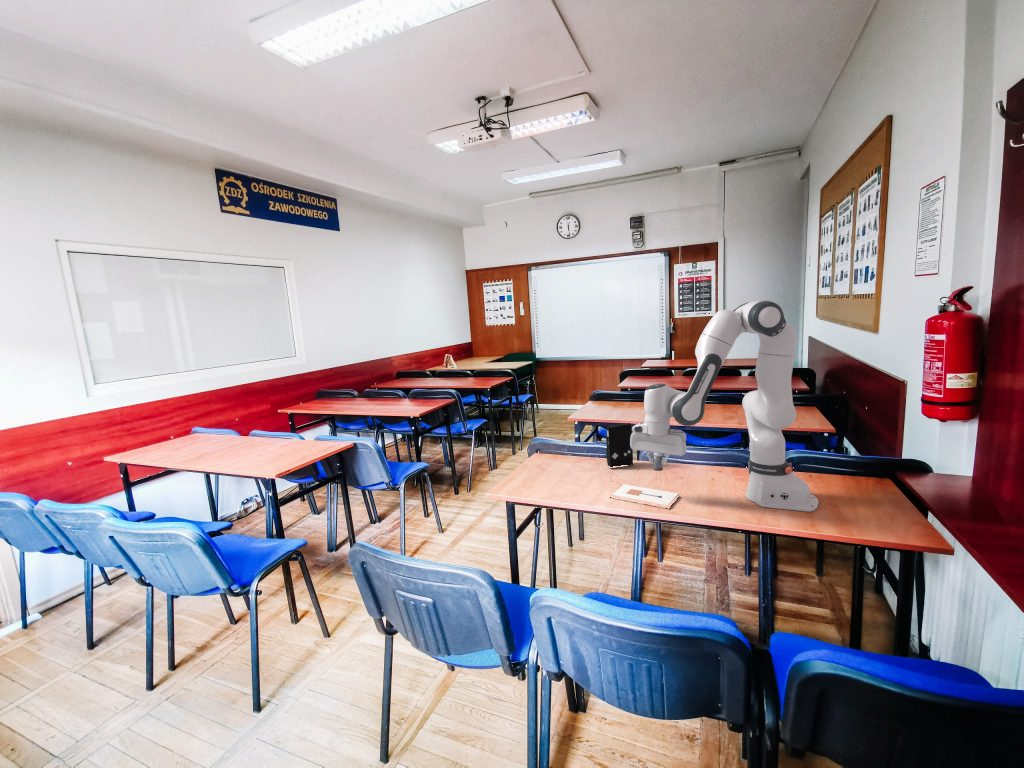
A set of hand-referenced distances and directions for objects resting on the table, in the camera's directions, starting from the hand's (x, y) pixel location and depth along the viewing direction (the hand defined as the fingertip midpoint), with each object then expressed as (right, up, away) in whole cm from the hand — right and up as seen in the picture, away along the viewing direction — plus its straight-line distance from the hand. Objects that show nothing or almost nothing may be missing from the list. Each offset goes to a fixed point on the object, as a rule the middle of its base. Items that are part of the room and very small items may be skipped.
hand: (658, 463), depth 166 cm
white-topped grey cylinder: (0, -2, 0) cm, 2 cm away
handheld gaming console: (-4, -9, +42) cm, 44 cm away
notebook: (-3, -14, +6) cm, 16 cm away
